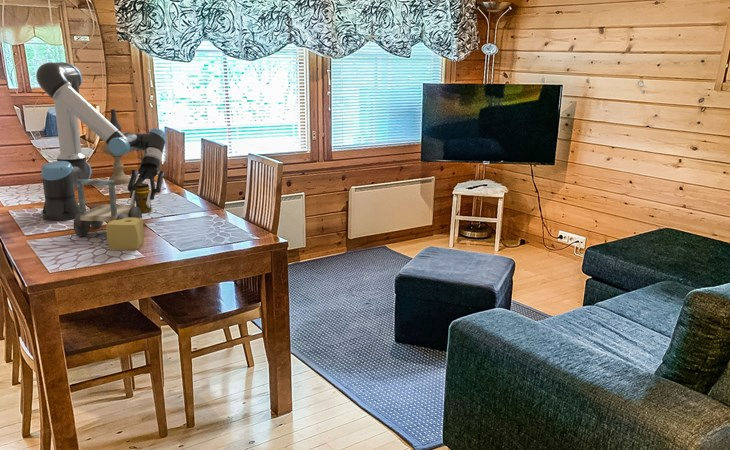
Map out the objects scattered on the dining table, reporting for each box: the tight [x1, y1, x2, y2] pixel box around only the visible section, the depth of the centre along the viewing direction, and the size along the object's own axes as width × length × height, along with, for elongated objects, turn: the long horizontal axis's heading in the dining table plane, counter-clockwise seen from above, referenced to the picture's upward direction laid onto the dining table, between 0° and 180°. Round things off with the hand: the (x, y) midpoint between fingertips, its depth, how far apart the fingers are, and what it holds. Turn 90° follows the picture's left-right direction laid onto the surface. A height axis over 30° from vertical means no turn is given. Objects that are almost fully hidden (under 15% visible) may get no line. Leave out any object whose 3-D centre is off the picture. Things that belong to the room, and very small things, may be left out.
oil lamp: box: [101, 109, 131, 185], centre depth 314 cm, size 15×15×40 cm
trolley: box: [73, 179, 143, 237], centre depth 228 cm, size 18×21×23 cm
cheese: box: [105, 217, 145, 251], centre depth 213 cm, size 10×11×10 cm
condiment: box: [135, 182, 155, 215], centre depth 242 cm, size 7×8×12 cm
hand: (139, 205), depth 239 cm, fingers closed on condiment, 6 cm apart
